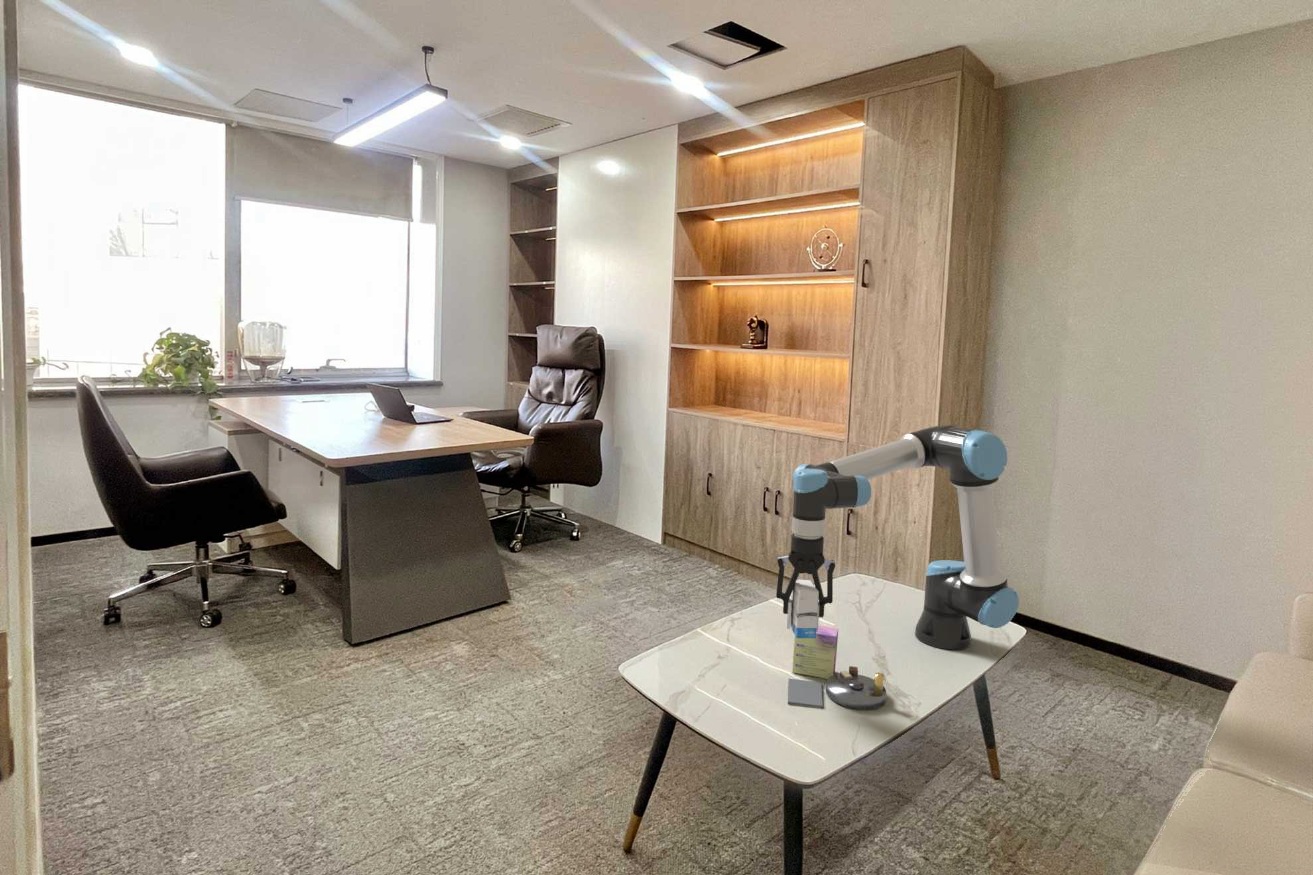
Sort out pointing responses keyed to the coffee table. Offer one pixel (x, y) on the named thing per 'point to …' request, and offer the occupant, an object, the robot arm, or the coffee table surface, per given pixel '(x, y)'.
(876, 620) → the coffee table surface
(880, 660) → the coffee table surface
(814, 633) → the ink box
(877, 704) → the dark pot lid
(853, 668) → the brown short block
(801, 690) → the mat
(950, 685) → the coffee table surface
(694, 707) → the coffee table surface
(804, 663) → the box
